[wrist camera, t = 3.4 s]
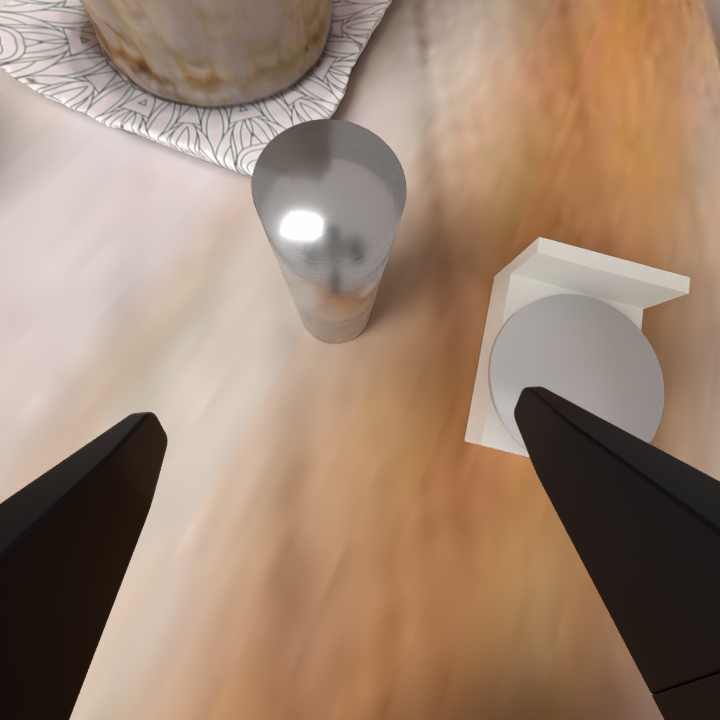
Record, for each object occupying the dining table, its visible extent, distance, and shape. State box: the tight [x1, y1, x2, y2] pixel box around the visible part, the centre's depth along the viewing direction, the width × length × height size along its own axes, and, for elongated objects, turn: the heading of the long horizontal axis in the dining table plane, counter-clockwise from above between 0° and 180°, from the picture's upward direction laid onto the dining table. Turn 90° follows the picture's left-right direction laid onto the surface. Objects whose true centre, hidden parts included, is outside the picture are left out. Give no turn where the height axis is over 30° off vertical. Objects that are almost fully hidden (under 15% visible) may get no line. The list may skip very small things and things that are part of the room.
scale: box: [464, 237, 690, 458], centre depth 19 cm, size 13×10×5 cm
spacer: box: [252, 119, 406, 344], centre depth 16 cm, size 5×5×12 cm
